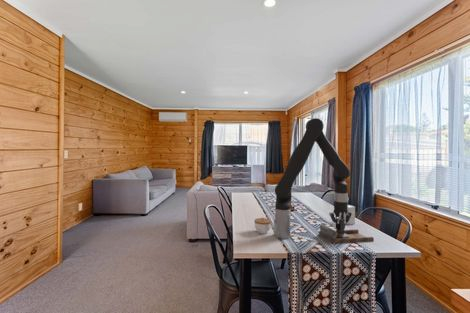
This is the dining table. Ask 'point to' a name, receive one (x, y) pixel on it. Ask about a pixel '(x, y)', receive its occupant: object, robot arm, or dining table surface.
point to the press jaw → (341, 230)
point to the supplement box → (352, 218)
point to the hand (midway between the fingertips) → (340, 229)
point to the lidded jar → (262, 225)
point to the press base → (331, 237)
